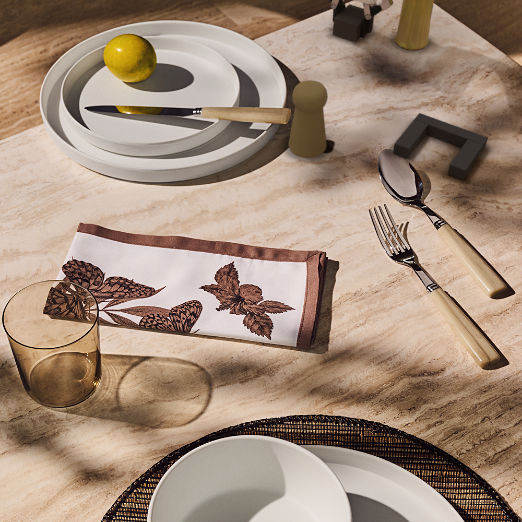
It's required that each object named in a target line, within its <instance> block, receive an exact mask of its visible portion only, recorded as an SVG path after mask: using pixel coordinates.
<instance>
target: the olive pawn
mask: <svg viewBox="0 0 522 522" xmlns="http://www.w3.org/2000/svg"><path fill="white" fill-rule="evenodd" d="M293 88H294V89H293V91H292V94H291V95H292V96H291V97H292V102H293V103H292V104H293V105H294V106H295V108H294V112H293V118H292V123H291V128H290V134H289V139H288V149H289V151H290V152H291V153H292V154H294V155H296V156H298V157H300V158H315V157H318V156H320V155H322V154H323V153H325V151H326V149H327V134H326V123H325V112H324V111H325V110H324V108H325V106H326V104H327V102H328V89H327V88H326V87H325V85H324V84H323V83H321V82H319V81H317V80H312V79H310V80H308V79H307V80H303V81H300V82H299V83H297V84H296V85H295V87H293Z"/></svg>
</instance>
